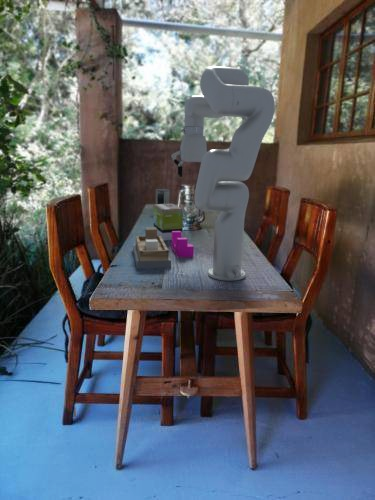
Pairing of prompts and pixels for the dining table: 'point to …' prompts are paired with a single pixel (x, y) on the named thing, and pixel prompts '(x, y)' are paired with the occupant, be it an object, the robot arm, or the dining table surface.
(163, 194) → the grey hollow cube
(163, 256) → the tan open boxy piece
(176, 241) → the toy block
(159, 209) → the tea box
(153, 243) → the grey box
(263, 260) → the dining table surface
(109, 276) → the dining table surface
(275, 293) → the dining table surface
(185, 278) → the dining table surface
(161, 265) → the block
